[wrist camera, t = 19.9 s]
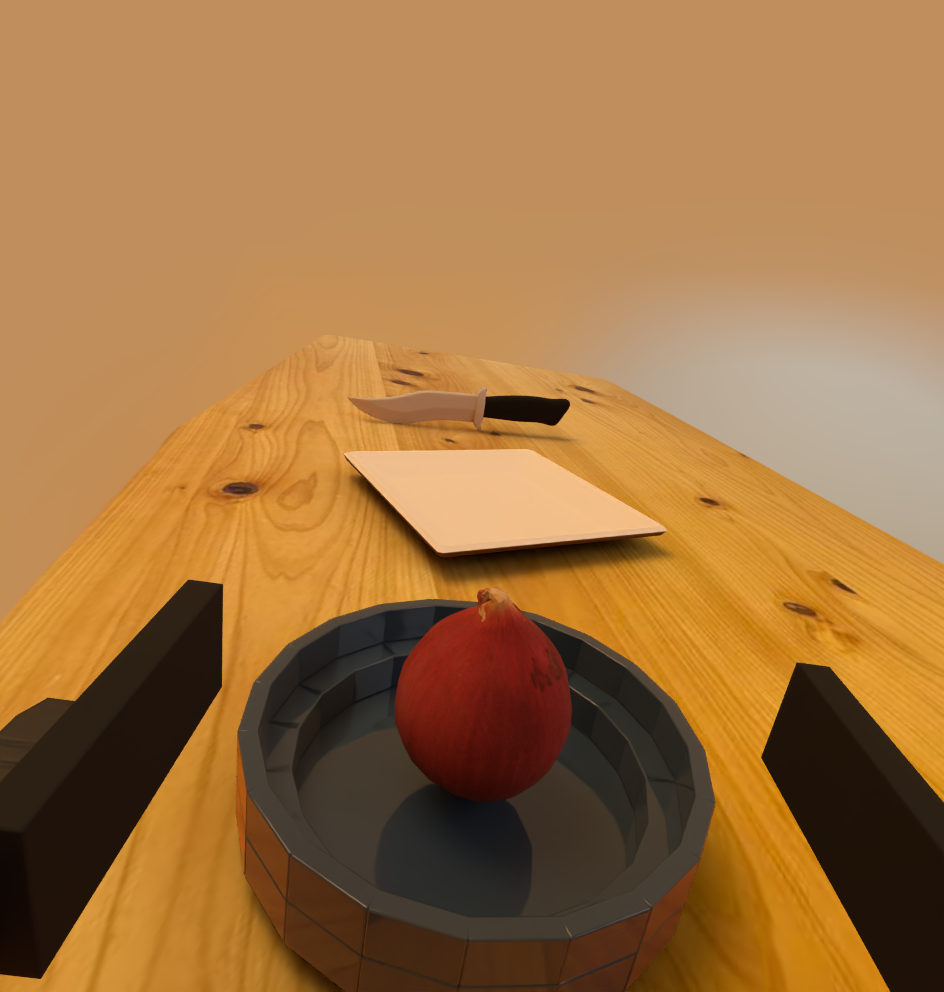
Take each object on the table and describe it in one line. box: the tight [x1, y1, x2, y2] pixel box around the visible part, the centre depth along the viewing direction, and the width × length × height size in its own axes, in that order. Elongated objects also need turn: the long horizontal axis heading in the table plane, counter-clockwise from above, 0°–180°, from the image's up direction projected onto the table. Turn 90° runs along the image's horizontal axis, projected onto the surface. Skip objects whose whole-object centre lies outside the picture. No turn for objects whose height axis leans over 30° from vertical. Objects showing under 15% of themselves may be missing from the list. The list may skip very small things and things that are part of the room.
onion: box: [395, 588, 572, 802], centre depth 21 cm, size 6×6×8 cm
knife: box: [348, 387, 570, 429], centre depth 72 cm, size 25×2×5 cm, turn 100°
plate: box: [344, 449, 667, 557], centre depth 50 cm, size 19×19×2 cm
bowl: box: [236, 599, 715, 992], centre depth 22 cm, size 15×15×4 cm
